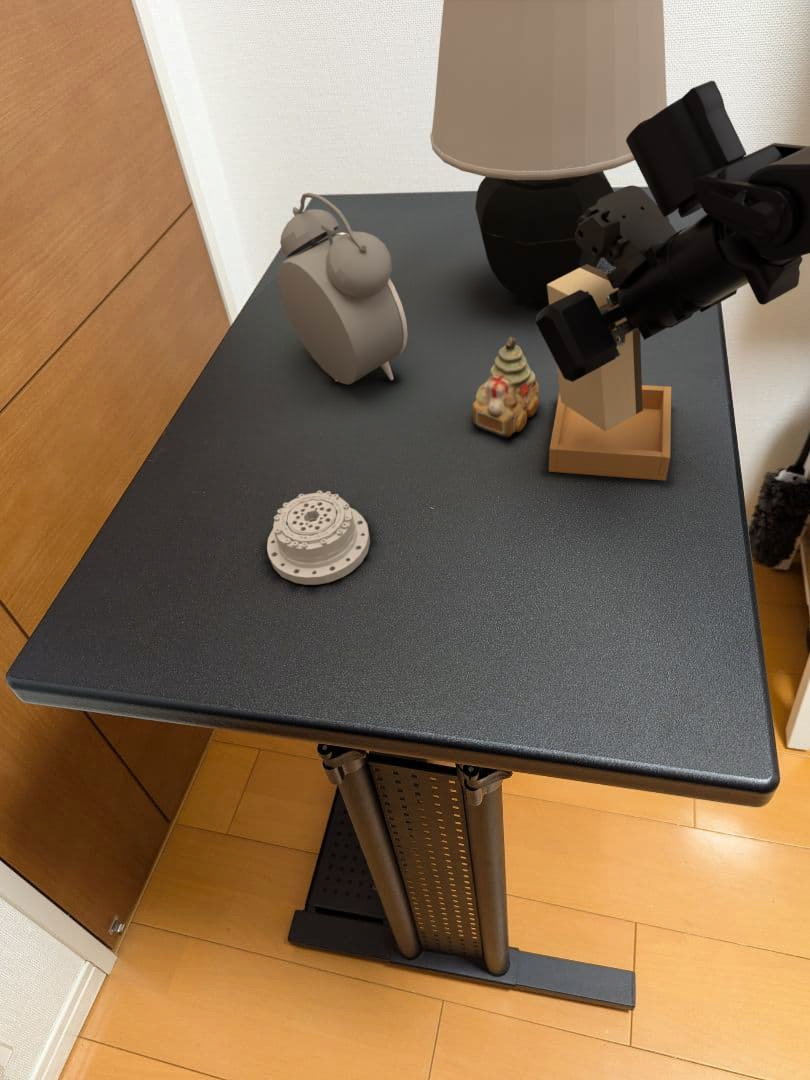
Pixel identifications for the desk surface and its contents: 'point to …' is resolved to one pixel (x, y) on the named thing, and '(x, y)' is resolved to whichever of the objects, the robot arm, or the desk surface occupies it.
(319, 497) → the mechanical component
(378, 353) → the alarm clock
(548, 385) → the desk surface
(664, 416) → the mount frame
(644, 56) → the table lamp
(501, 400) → the ornament
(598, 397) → the back pad
